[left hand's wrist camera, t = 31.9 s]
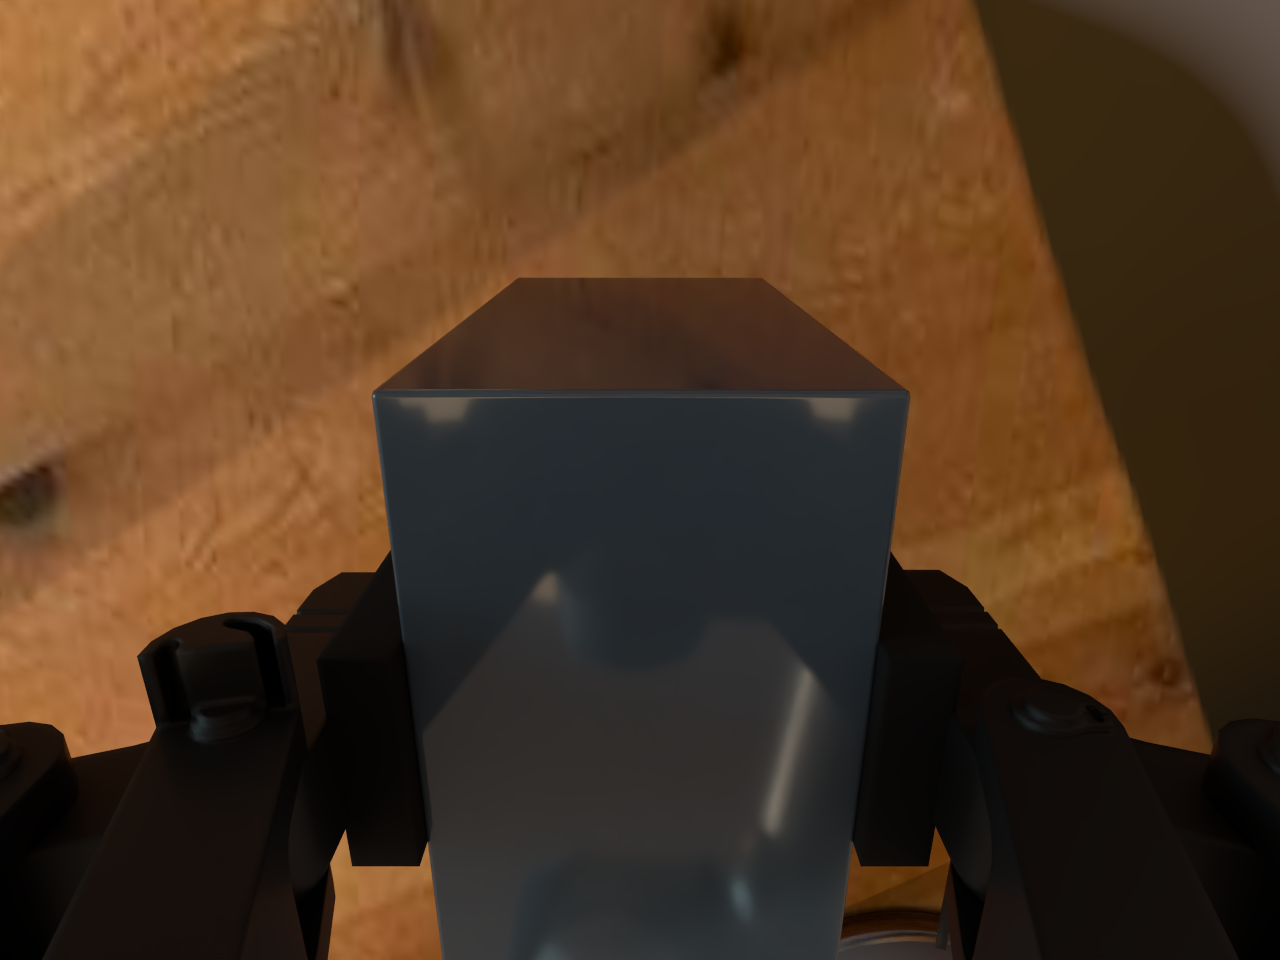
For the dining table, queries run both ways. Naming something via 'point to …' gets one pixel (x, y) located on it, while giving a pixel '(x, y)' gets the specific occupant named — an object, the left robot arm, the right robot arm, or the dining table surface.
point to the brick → (640, 615)
